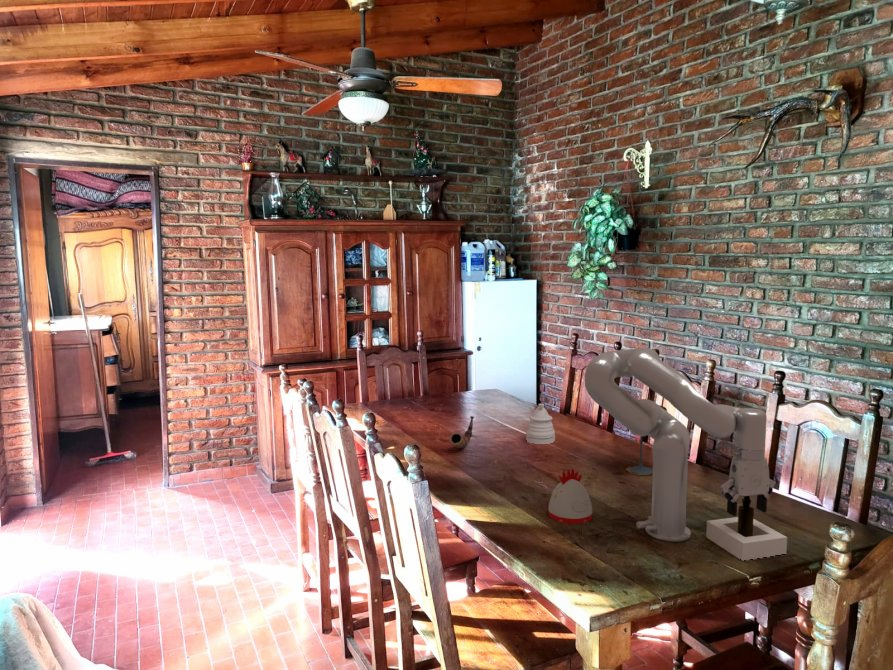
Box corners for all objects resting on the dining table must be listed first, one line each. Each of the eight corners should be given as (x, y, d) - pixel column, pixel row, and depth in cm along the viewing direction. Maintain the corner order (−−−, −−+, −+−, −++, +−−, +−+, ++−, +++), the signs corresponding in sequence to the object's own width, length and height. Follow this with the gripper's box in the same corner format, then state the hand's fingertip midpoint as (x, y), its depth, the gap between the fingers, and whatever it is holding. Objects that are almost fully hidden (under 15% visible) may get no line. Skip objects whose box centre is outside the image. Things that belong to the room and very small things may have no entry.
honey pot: (557, 446, 270) (557, 406, 268) (527, 447, 270) (528, 406, 268) (552, 438, 283) (552, 400, 281) (524, 438, 283) (524, 400, 281)
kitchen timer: (540, 510, 201) (540, 465, 199) (576, 503, 206) (576, 460, 205) (563, 526, 188) (564, 479, 187) (601, 519, 193) (602, 473, 192)
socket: (742, 561, 166) (743, 543, 165) (706, 537, 180) (706, 520, 180) (786, 554, 169) (787, 537, 169) (747, 531, 184) (748, 515, 183)
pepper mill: (735, 538, 179) (738, 478, 177) (759, 544, 175) (763, 483, 173) (728, 546, 174) (731, 485, 172) (753, 553, 170) (757, 490, 168)
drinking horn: (448, 454, 260) (448, 431, 259) (466, 436, 288) (466, 415, 287) (461, 455, 259) (461, 432, 258) (478, 437, 287) (478, 416, 285)
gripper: (732, 459, 166) (729, 521, 168) (786, 454, 170) (782, 514, 172) (713, 451, 173) (711, 510, 175) (765, 446, 177) (762, 504, 179)
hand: (746, 512), depth 174 cm, fingers open, 9 cm apart
